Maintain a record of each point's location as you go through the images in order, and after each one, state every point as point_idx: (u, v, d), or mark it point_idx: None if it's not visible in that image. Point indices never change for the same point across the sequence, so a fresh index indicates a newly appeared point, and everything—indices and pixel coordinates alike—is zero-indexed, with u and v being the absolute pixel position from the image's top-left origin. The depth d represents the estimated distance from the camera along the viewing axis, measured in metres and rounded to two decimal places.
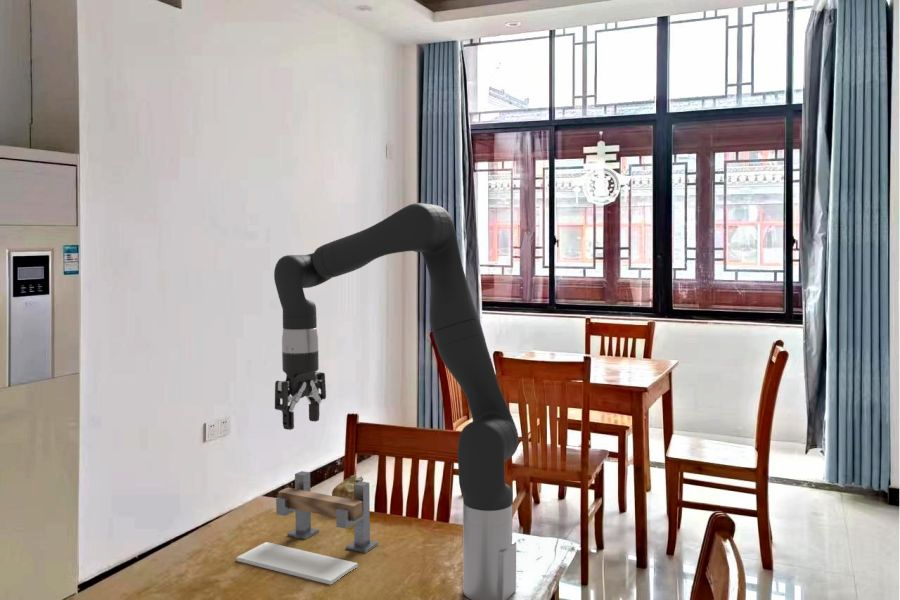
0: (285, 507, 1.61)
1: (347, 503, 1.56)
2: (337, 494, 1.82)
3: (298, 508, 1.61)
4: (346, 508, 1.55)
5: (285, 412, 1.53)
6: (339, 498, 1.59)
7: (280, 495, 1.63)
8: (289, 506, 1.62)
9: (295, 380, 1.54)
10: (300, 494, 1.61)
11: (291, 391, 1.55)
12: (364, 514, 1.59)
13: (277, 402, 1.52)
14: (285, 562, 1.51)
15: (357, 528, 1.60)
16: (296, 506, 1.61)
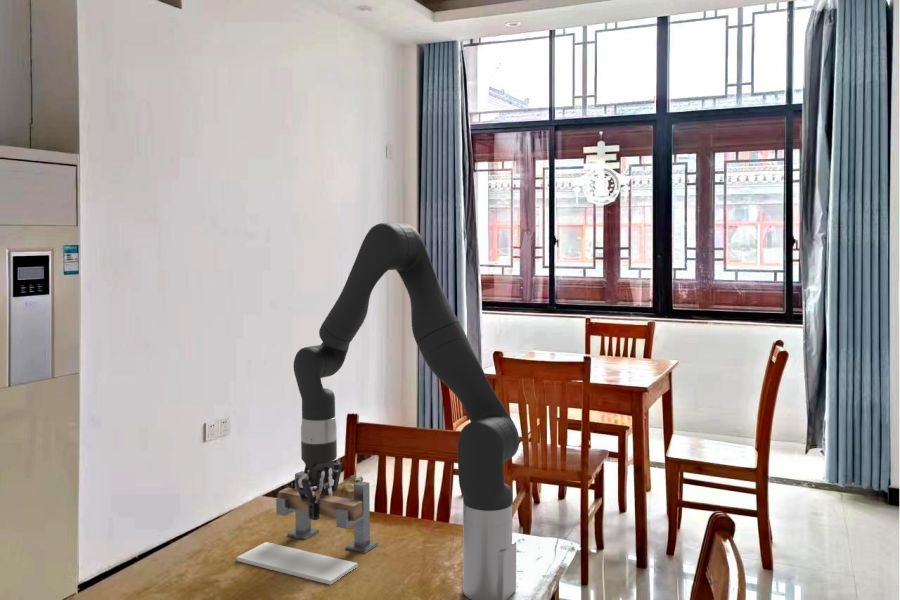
0: (285, 507, 1.61)
1: (347, 503, 1.56)
2: (337, 494, 1.82)
3: (298, 508, 1.61)
4: (346, 508, 1.55)
5: (311, 503, 1.57)
6: (339, 498, 1.59)
7: (280, 495, 1.63)
8: (289, 506, 1.62)
9: (313, 470, 1.56)
10: None
11: None
12: (364, 514, 1.59)
13: (302, 496, 1.56)
14: (285, 562, 1.51)
15: (357, 528, 1.60)
16: (296, 506, 1.61)
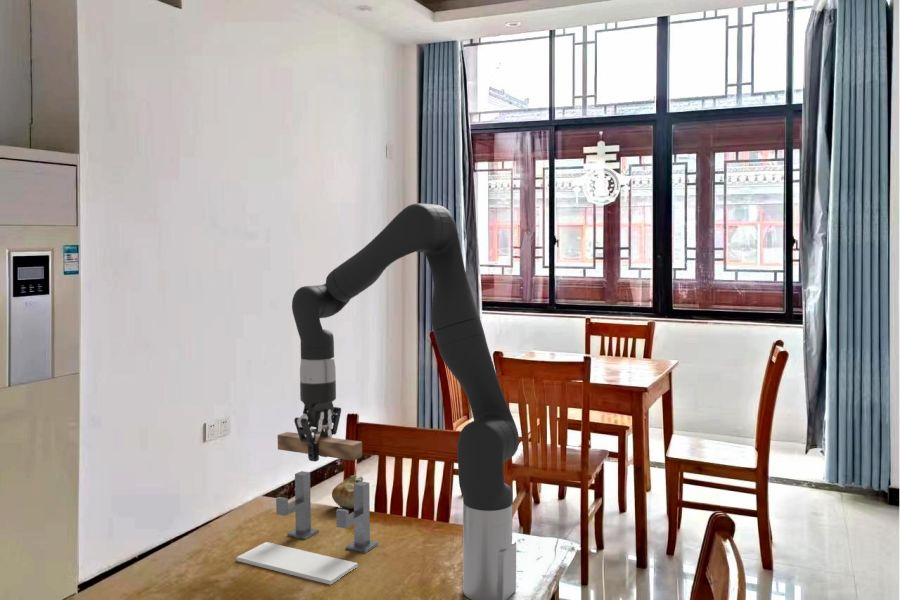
0: (285, 507, 1.61)
1: (346, 443, 1.55)
2: (337, 494, 1.82)
3: (297, 450, 1.60)
4: (345, 448, 1.54)
5: (310, 444, 1.56)
6: (338, 439, 1.58)
7: (279, 438, 1.62)
8: (288, 449, 1.61)
9: (312, 410, 1.55)
10: None
11: None
12: (364, 514, 1.59)
13: (301, 436, 1.55)
14: (285, 562, 1.51)
15: (357, 528, 1.60)
16: (295, 448, 1.60)
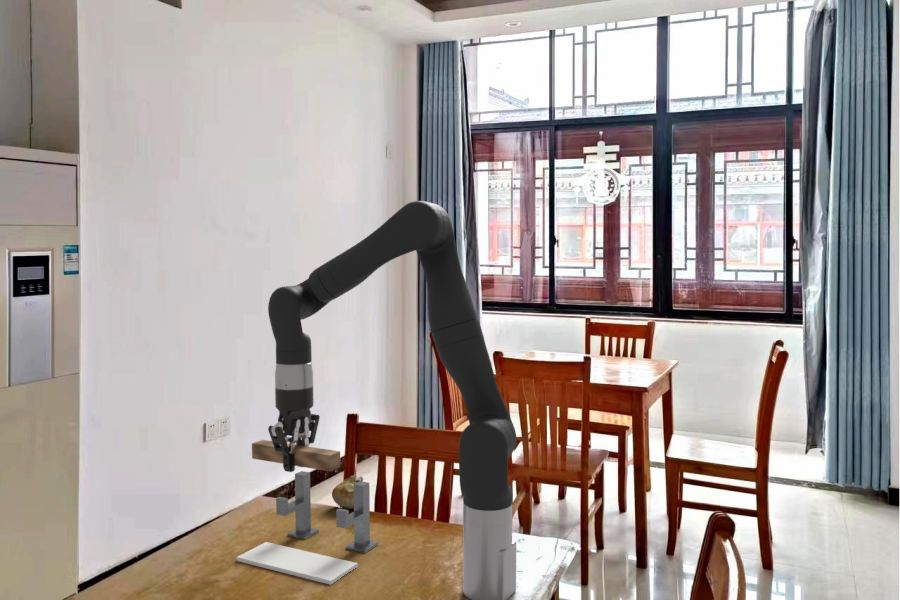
0: (285, 507, 1.61)
1: (324, 453, 1.46)
2: (337, 494, 1.82)
3: (272, 460, 1.51)
4: (322, 458, 1.45)
5: (286, 454, 1.48)
6: (316, 449, 1.49)
7: (254, 447, 1.54)
8: (263, 458, 1.53)
9: (288, 418, 1.47)
10: None
11: None
12: (364, 514, 1.59)
13: (276, 445, 1.47)
14: (285, 562, 1.51)
15: (357, 528, 1.60)
16: (270, 458, 1.52)
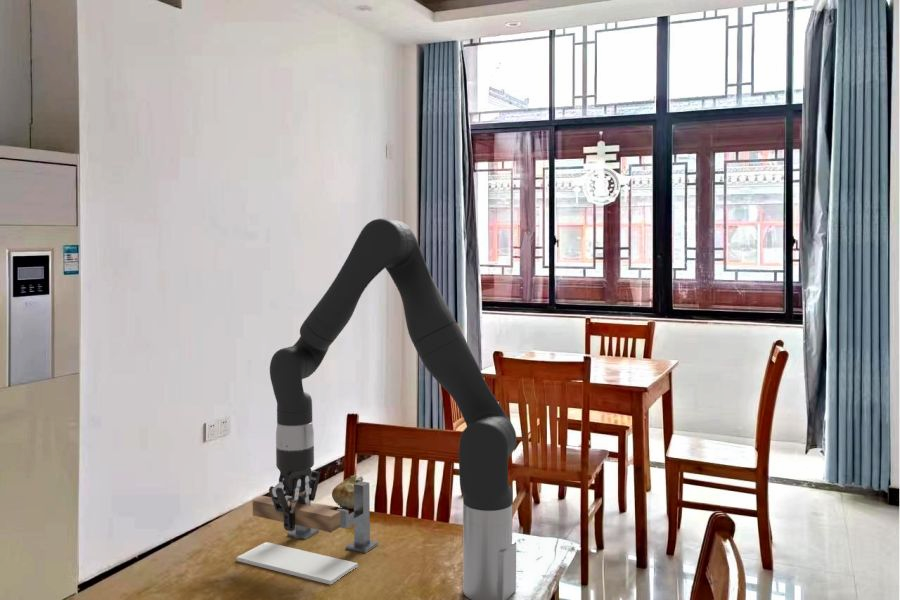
0: None
1: (324, 513, 1.47)
2: (337, 494, 1.82)
3: (273, 518, 1.52)
4: (323, 519, 1.46)
5: (286, 514, 1.49)
6: (316, 508, 1.50)
7: (254, 504, 1.54)
8: (264, 516, 1.53)
9: (288, 479, 1.48)
10: None
11: None
12: (364, 514, 1.59)
13: (277, 505, 1.47)
14: (285, 562, 1.51)
15: (357, 528, 1.60)
16: (271, 516, 1.52)
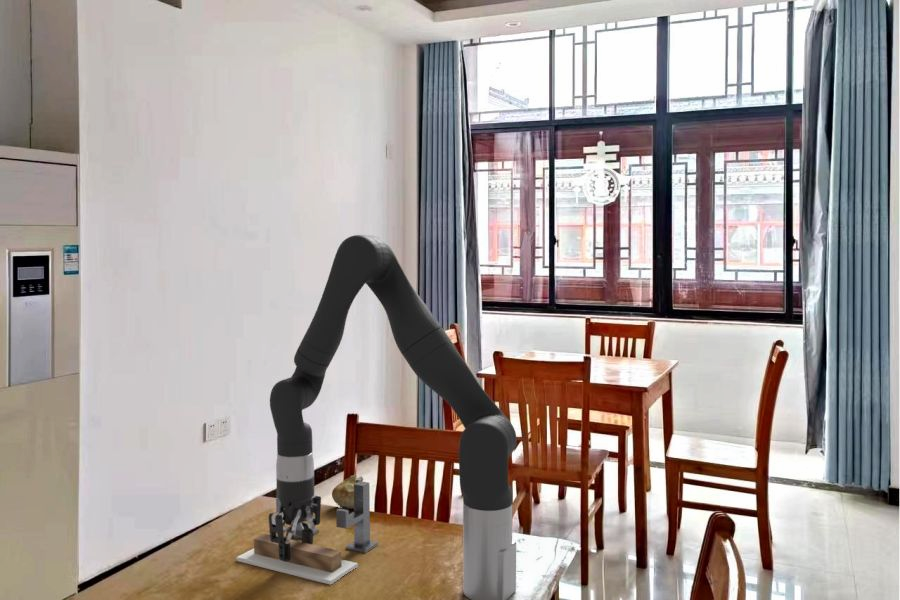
0: None
1: (325, 553, 1.48)
2: (337, 494, 1.82)
3: (274, 557, 1.53)
4: (324, 559, 1.47)
5: (281, 544, 1.48)
6: (317, 547, 1.51)
7: (256, 542, 1.55)
8: (265, 554, 1.54)
9: (289, 509, 1.48)
10: None
11: (286, 520, 1.49)
12: (364, 514, 1.59)
13: (272, 535, 1.47)
14: (285, 562, 1.51)
15: (357, 528, 1.60)
16: (272, 555, 1.53)
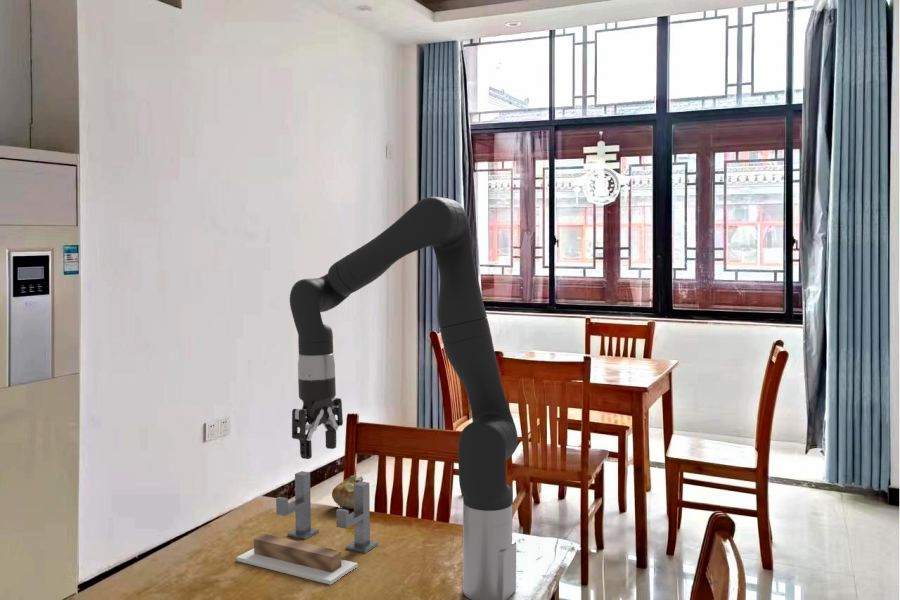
0: (285, 507, 1.61)
1: (325, 553, 1.48)
2: (337, 494, 1.82)
3: (274, 557, 1.53)
4: (324, 559, 1.47)
5: (303, 441, 1.48)
6: (317, 547, 1.51)
7: (256, 542, 1.55)
8: (265, 554, 1.54)
9: (312, 408, 1.50)
10: (276, 542, 1.53)
11: (308, 419, 1.51)
12: (364, 514, 1.59)
13: (294, 431, 1.48)
14: (285, 562, 1.51)
15: (357, 528, 1.60)
16: (272, 555, 1.53)
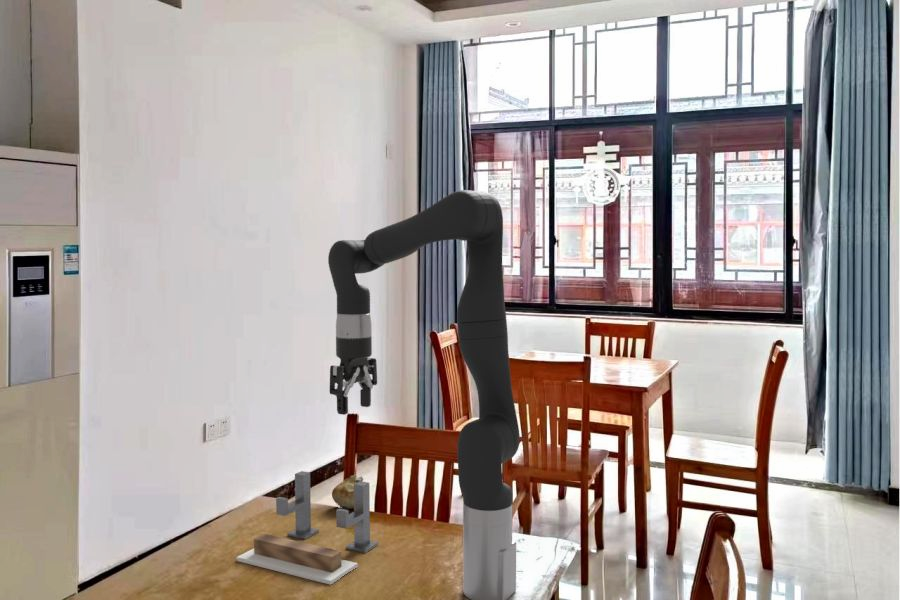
0: (285, 507, 1.61)
1: (325, 553, 1.48)
2: (337, 494, 1.82)
3: (274, 557, 1.53)
4: (324, 559, 1.47)
5: (339, 397, 1.53)
6: (317, 547, 1.51)
7: (256, 542, 1.55)
8: (265, 554, 1.54)
9: (349, 365, 1.55)
10: (276, 542, 1.53)
11: (345, 376, 1.55)
12: (364, 514, 1.59)
13: (332, 387, 1.52)
14: (285, 562, 1.51)
15: (357, 528, 1.60)
16: (272, 555, 1.53)
